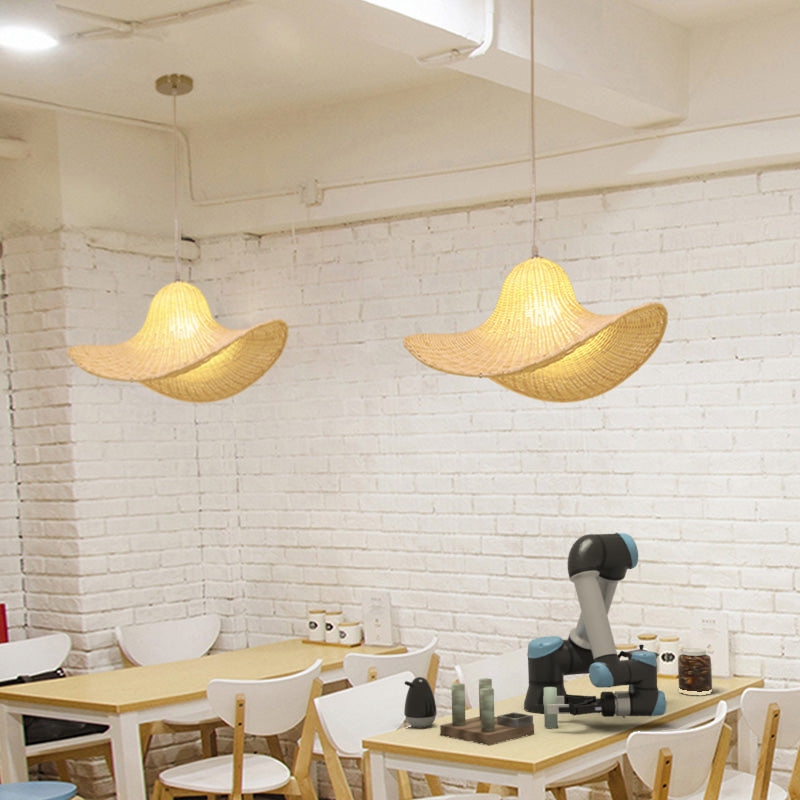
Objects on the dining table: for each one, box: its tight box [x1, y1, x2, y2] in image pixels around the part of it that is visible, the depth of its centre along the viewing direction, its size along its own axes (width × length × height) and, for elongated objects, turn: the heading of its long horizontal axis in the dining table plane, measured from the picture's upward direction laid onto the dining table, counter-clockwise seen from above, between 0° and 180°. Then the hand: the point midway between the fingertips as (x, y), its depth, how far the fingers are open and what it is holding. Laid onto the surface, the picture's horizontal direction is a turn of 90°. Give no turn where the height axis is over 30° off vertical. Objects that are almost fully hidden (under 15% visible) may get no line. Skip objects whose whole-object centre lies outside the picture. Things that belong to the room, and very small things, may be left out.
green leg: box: [543, 687, 559, 729], centre depth 363 cm, size 4×4×12 cm
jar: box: [677, 647, 713, 692], centre depth 415 cm, size 12×12×15 cm
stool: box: [439, 677, 535, 746], centre depth 355 cm, size 20×20×15 cm
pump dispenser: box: [403, 676, 438, 729], centre depth 369 cm, size 10×10×15 cm
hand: (545, 705), depth 363 cm, fingers open, 13 cm apart
